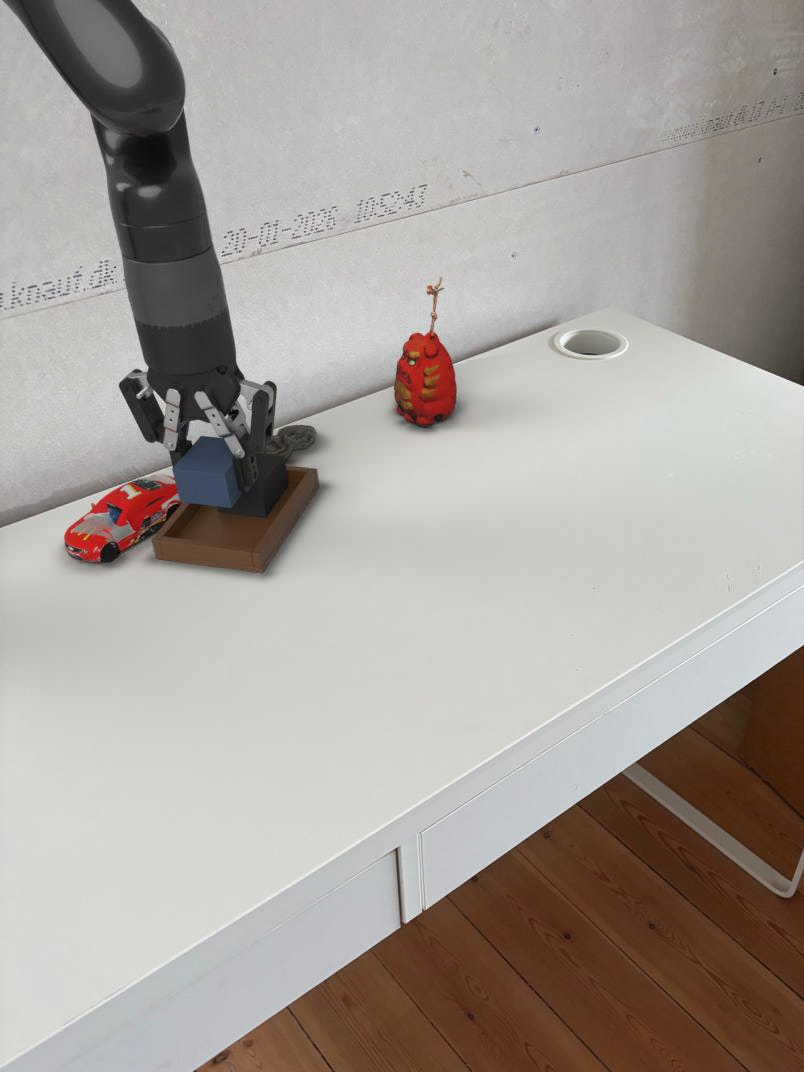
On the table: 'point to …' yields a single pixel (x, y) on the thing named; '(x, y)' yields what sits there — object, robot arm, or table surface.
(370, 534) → the table surface
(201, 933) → the table surface
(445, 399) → the red clay folk toy
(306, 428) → the corroded twin loop
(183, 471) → the blue block
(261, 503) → the black block
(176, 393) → the robot arm
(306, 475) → the brown tray
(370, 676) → the table surface
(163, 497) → the race car
